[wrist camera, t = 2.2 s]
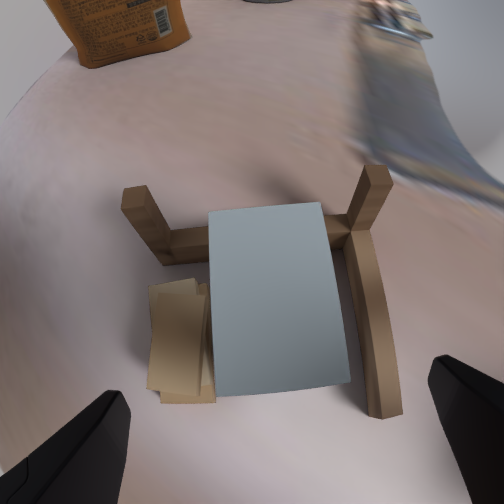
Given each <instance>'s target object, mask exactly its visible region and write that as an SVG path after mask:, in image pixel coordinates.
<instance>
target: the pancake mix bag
mask: <svg viewBox="0 0 504 504" xmlns="http://www.w3.org/2000/svg"><path fill="white" fill-rule="evenodd" d="M44 2H45V3H46V5H47V6H48V8H49V9H50V11H51V12H52V14H53V15H54V17H55V18H56V20H57V21H58V23H59V25H60V27H61V28H62V30H63V31H64V32H65V34H66V35H67V36H68V38H69V39H70V40H71V42H72V43H73V44H74V46H75V47H76V48H77V52H78V57H79V61H80V65H82V66H84V67H86V68H88V69H94V68H99V67H102V66H106V65H109V64H112V63H116V62H119V61H123V60H127V59H131V58H134V57H138V56H142V55H147V54H152V53H157V52H163V51H168V50H170V49H172V48H175V47H177V46H179V45H181V44H182V43H184V42H186V41H187V40H189V39H190V38H191V37H192V35H191V33H190V31H189V29H188V27H187V24H186V22H185V19H184V15H183V12H182V8H181V3H180V0H44Z"/></svg>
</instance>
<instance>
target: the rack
mask: <svg viewBox="0 0 504 504" xmlns="http://www.w3.org/2000/svg"><path fill="white" fill-rule="evenodd" d="M392 186H393V181H392V179H391V176H390V173H389V171H388V168H387V166H386V165H364V168H363V171H362V174H361V176H360V179H359V182H358V185H357V187H356V190H355V193H354V195H353V198H352V201H351V203H350V206H349V209H348V211H347V214H338V215H325V216H323V217H324V222H325V227H326V231H327V236H328V241H329V246H330V250H335V249H343V253H344V257H345V262H346V267H347V272H348V277H349V283H350V288H351V293H352V299H353V304H354V310H355V316H356V322H357V328H358V334H359V341H360V348H361V355H362V362H363V370H364V377H365V386H366V394H367V404H368V414H369V417H373V418H378V419H387V418H390V417H394V416H398V415H402V414H403V409H402V400H401V391H400V382H399V375H398V367H397V360H396V353H395V347H394V341H393V335H392V329H391V324H390V318H389V313H388V308H387V303H386V298H385V293H384V288H383V284H382V279H381V275H380V270H379V266H378V262H377V258H376V253H375V249H374V245H373V242H372V238H371V234H370V228H371V226H372V224H373V222H374V220H375V219H376V217H377V215H378V213H379V211H380V209H381V207H382V205H383V204H384V202H385V200H386V198H387V196H388V194H389V192H390V190H391V188H392ZM121 210H122V212H123V213H124V214H125V216H126V217H127V219H128V220H129V221H130V223H131V224H132V226H133V227H134V228H135V230H136V231H137V232H138V234H139V235H140V236H141V238H142V239H143V240H144V242H145V243H146V244H147V246H148V247H149V248H150V250H151V251H152V252H153V254H154V255H155V256H156V257H157V259H158V260H159V261H160V263H161V264H162V265H163V266H165V265H176V264H187V263H198V262H209V226H206V227H196V228H187V229H178V230H170V228H169V226H168V224H167V223H166V221H165V219H164V217H163V215H162V214H161V212H160V210H159V208H158V206H157V204H156V203H155V201H154V199H153V197H152V195H151V193H150V191H149V189H148V188H147V186H146V185H144V186H137V187H131V188H125V189H124V191H123V197H122V204H121Z"/></svg>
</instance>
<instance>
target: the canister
mask: <svg viewBox="0 0 504 504" xmlns="http://www.w3.org/2000/svg"><path fill="white" fill-rule="evenodd" d="M244 1H248V2H255V3H282V2H288V1H291V0H244Z"/></svg>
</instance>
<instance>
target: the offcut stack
mask: <svg viewBox="0 0 504 504" xmlns="http://www.w3.org/2000/svg"><path fill="white" fill-rule="evenodd" d="M148 290H149V303H150V315H151V325H152V341H151V350H150V358H149V368H148V378H147V388H146V389H149V390H155V391H160V400H161V403H167V404H195V403H215V402H216V397H215V383H214V367H213V351H212V332H211V312H210V288H209V286H208V285H207V283H202V284H198V283H197V281H196V279H195V278H189V279H184V280H178V281H173V282H168V283H162V284H157V285H151V286H148Z"/></svg>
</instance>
